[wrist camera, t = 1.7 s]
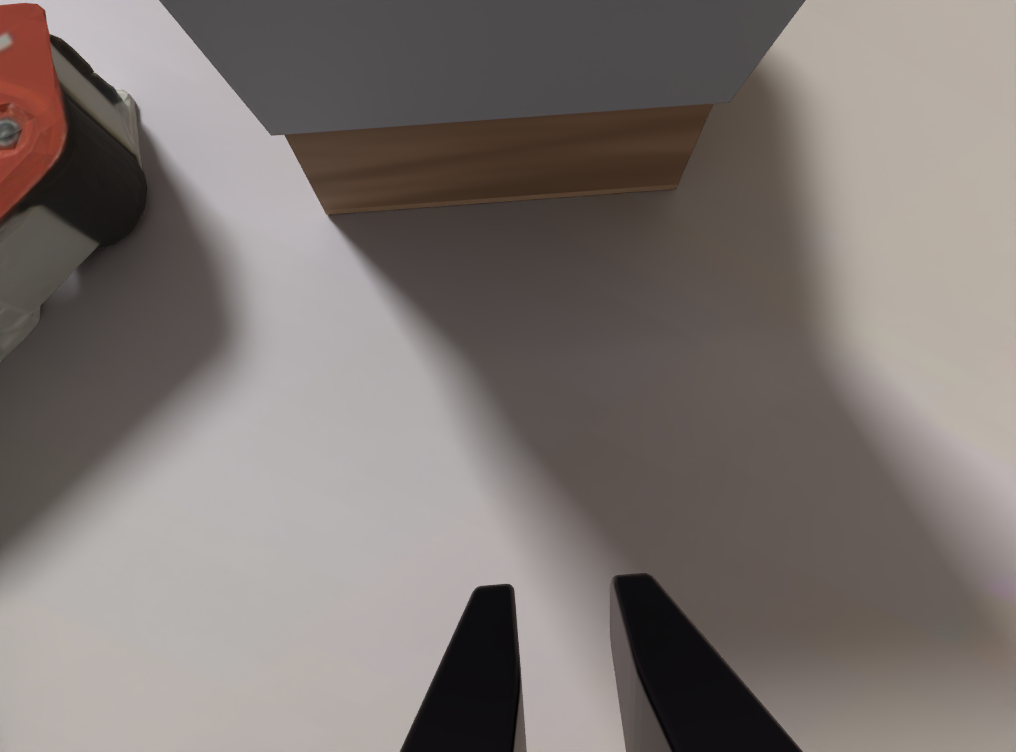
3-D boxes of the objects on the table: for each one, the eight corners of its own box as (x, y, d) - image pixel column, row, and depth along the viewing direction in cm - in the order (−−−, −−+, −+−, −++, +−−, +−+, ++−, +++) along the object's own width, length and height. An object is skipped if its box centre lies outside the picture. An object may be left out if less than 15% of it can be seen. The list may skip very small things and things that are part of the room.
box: (675, 189, 25) (726, 73, 19) (326, 214, 25) (269, 106, 19) (645, -55, 27) (682, -230, 21) (317, -32, 26) (262, -202, 21)
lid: (726, 75, 19) (729, 102, 19) (269, 108, 19) (271, 135, 19) (891, -168, 11) (895, -122, 11) (100, -115, 11) (104, -67, 11)
